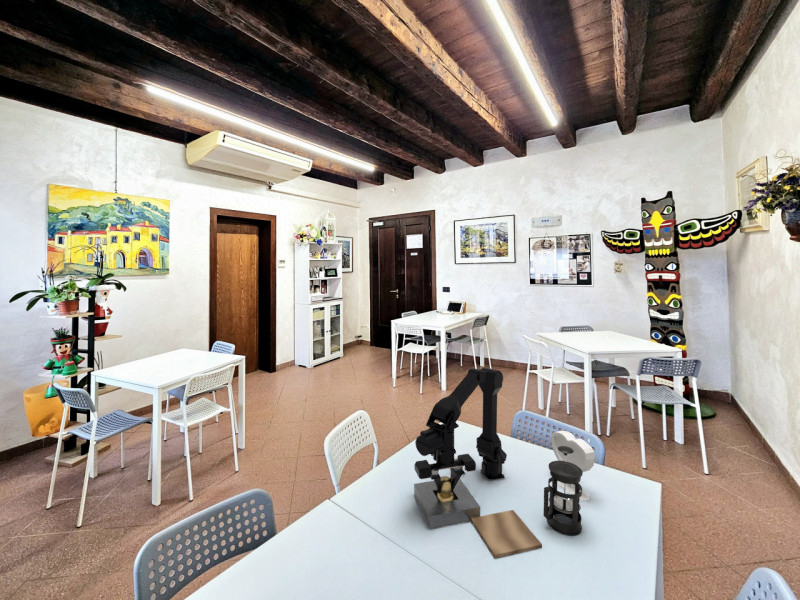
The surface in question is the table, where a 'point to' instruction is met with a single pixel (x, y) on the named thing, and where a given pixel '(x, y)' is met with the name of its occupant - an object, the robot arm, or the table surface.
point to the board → (505, 534)
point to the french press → (563, 495)
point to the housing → (445, 505)
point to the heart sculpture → (573, 455)
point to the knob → (445, 490)
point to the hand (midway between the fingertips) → (445, 491)
